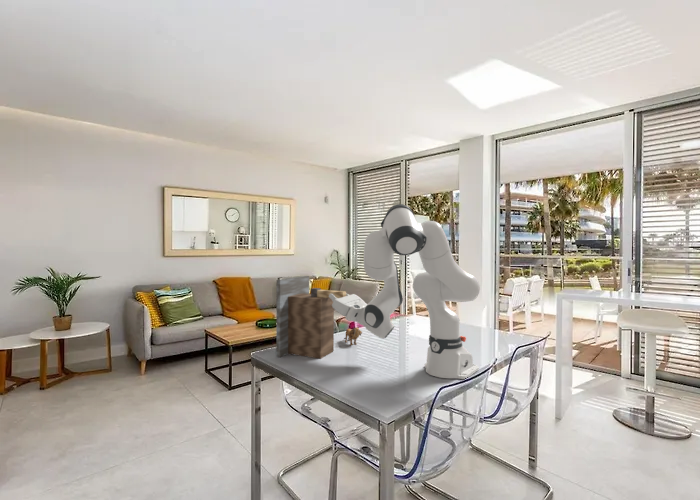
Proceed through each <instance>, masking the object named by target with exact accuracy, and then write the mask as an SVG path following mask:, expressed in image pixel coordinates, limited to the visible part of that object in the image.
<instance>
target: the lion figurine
mask: <svg viewBox="0 0 700 500" xmlns="http://www.w3.org/2000/svg"><path fill="white" fill-rule="evenodd" d="M362 334H363V331H361V330H360V328H359V327H357V326H356V327H354V328H353V327H352V329H351V328H347V329H346V331H345V337H344V338H343V340H345V341H344V343H348V341H349V342H350V343H349V346H351V345H352V346H353V344H354V345H355V346H356V345H357V344H358V343H356V341H357V340H358V338H359V337H360V336H361V335H362Z"/></svg>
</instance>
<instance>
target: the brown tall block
mask: <svg viewBox="0 0 700 500" xmlns="http://www.w3.org/2000/svg"><path fill="white" fill-rule="evenodd" d="M332 304H333V301H332V299H331V298H323V297H311V293H310V275H302V276H296V277H287V278H281V279H276V358H282V357H284V356H286V355H293V354H295V356H301V357H306V356H308V357H307V358H313V359H323V358H324V357H326V355H327V356H328V355H330V354H332V353H334V352H333V351H335V350H334V348H335V347H334V344H335V343H334V342H335V341H334V340H335V338H334V337H335V335H334V333H335V332H334V328H335V327H334V326H335V325H334V322H335V321H334V320H335V319H334V317H335V316H334V313H335V312H334V311H335V309H334V308H333V307H332Z"/></svg>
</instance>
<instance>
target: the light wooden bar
mask: <svg viewBox="0 0 700 500" xmlns="http://www.w3.org/2000/svg"><path fill="white" fill-rule="evenodd" d="M331 293H332V294H334V295H335V297H336V298H341V297H345V296H346V293H347V291H345V290H330V289H329V290H328V289H322V288H320V287H313V288H311V289H310V294H311V297H323V298H329V294H331Z"/></svg>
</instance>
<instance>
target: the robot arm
mask: <svg viewBox="0 0 700 500" xmlns="http://www.w3.org/2000/svg"><path fill="white" fill-rule="evenodd" d="M380 226H381V229H380V230H374V231H372V232H371V231H370V233H369V234H367V236H366V238H365V242H364V244H363V245H364V246H363V268H364V269H363V270H364V272H365V274H366V275H367V276H368V278H370V279H373V280H375V281H382V282H383V283H384V284H383V288H382V289H381V290H380V291H379V292H378V293H377V294H376V295H375V296H374V297H373V298H372V299H371V300H370V301H369V302H368V303H366V302H365V300H363V299H362V298H361V297H360V296H358V295H357V294H355V293H352V294H349V293H347V292H346V296H345V297H341V298H336V297H335V295H334V294H332V293H331V294H329V298H331V299H332V301H333V304H332V307H333V308H334V311H336V312H337V313H339V315H341V316H342V317H345V318H344V319H345V320H347V322H355V323H358V324H359V325H360V326H361V325H362V326H363V327H364V328H365V329H366V330H367V331H368V332H370V333H371V334H373V335H374V336H376V337H378V338H380V339H386V338H387V337H388V336H389V335H390V334H391V333H392V331H393V330H394V329H395V325H394V324H395V323H393V322H392V321H391V315H392V314H393V313H394V312H395V311H396V310H398V309H397V308H399V307H400V306H401V305H402V304H403V300H404V298H403V294H402V291H401V289H400V288H401V287H400V280H399V270H398V265H397V263H396V262H395V254H396V255H399V256H410V255H413V254H416V253H418V255H419V257H420V261H421V264H422V266H423V269H424V272H419V273H417V274H416V275H415V277H414V279H413V281H412V288H413V289H412V290H413V292H414V294H415V295H416V297H418V298H420V300H421V302H423V303H424V305H425V307H426V309H427V312H428V316H429V329H430V330H429V336H428V345H429V346H428V348H427V354H426V362H425V363H424V365H423V366H424V368H425V373H427V374H428V375H430V376H433V377H435V378H440V379H460V380H466V379H468V378H469V377H471V376H472V375H473V374H474V373H476V372H478V371H479V370H480V367H479V366H478V365H477V364H475V363H474V362H473V361H474V360H473V355H472V353H471V352H470V351H468V349H466V348H465V346H463V342H464V343H465V342H466V340H467V337H466V336H463V335H460V328H461V327H460V325H461V324H460V323H461V322H460V317H459V315H458V314H457V313H456V312H455V311H454V310H452V309H450V308H449V307H448V305H447V304H446V302H455V303H466V302H473V301H475V300H476V299H477V297H478V296H479V295H480V290H481V285H480V282H479V280H478V278H477V277H476V276H475V275H473V274H471V273H469V272H467V271H465V270H464V269H463V268H462V267H461V266H459V264H458V263H457V262H456V260H455V259H454V256H453V254H452V250H451V247H450V243H449V240H448V238H447V234H446V233H445V230H444V229H443V227H442V225H441V224H440V223H439V222H437V221H435V220H427V221H424V222H419V221H417V219H416V216H415V213H414V212H413V210H412V209H411V207H409V206H408V205H405V204H403V203H401V204H400V203H399V204H397V203H396V204H395V205H392V206H391V207H390V208H389V209H388V210H387V211H386V213H385V216H384V218H383V219H382V221H381V223H380ZM425 271H426V272H425ZM467 377H468V378H467ZM465 378H466V379H465Z"/></svg>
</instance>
